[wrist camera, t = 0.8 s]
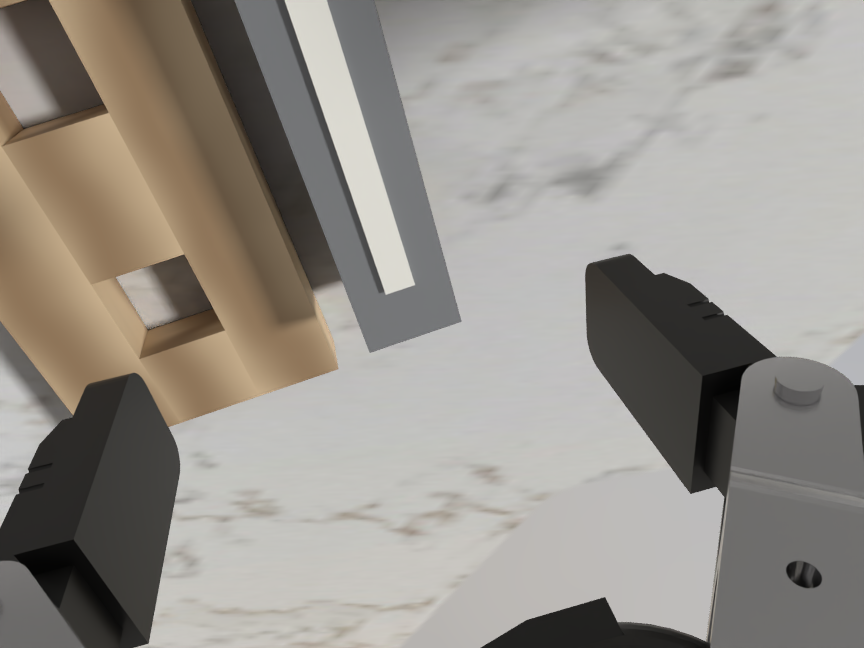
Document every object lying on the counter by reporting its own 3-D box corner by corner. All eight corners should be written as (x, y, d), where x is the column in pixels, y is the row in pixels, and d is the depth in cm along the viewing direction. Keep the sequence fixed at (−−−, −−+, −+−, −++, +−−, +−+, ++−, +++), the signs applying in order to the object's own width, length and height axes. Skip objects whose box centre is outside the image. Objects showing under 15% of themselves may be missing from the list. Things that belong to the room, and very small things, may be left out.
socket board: (115, -179, 21) (98, -192, 19) (333, 341, 33) (338, 368, 31) (-247, -73, 20) (-305, -75, 18) (110, 417, 33) (99, 450, 30)
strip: (319, -124, 23) (336, -143, 17) (428, 255, 32) (463, 324, 26) (213, -92, 23) (194, -101, 17) (352, 281, 32) (370, 356, 26)
